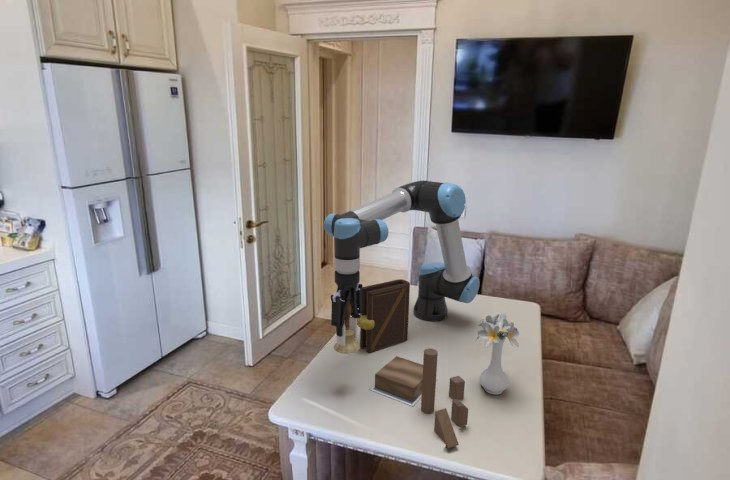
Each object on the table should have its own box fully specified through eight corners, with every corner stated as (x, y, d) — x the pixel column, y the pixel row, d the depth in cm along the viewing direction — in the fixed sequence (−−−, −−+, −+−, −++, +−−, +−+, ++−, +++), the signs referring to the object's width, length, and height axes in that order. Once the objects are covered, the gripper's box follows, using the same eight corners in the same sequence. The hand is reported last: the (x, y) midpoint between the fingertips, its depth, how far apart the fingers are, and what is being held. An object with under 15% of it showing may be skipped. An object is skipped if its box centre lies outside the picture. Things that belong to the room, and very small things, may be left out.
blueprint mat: (396, 367, 159) (396, 365, 159) (437, 381, 150) (437, 379, 150) (368, 391, 144) (368, 389, 144) (412, 408, 136) (413, 406, 136)
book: (397, 335, 183) (399, 277, 176) (411, 344, 176) (413, 284, 169) (352, 349, 171) (352, 288, 165) (364, 359, 164) (365, 295, 158)
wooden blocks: (447, 448, 119) (452, 382, 114) (411, 407, 137) (413, 347, 132) (498, 432, 126) (505, 368, 121) (457, 394, 143) (461, 337, 138)
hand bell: (330, 344, 142) (329, 297, 138) (354, 339, 146) (354, 293, 142) (339, 356, 135) (338, 307, 131) (364, 351, 138) (364, 303, 134)
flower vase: (510, 376, 154) (517, 308, 148) (515, 407, 137) (523, 333, 131) (471, 371, 157) (477, 304, 151) (471, 401, 140) (477, 328, 133)
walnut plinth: (395, 368, 156) (396, 356, 155) (432, 381, 149) (433, 368, 148) (374, 387, 145) (375, 373, 144) (413, 402, 138) (413, 388, 136)
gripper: (354, 260, 143) (354, 326, 149) (317, 276, 128) (319, 349, 134) (374, 264, 139) (373, 332, 145) (338, 281, 124) (339, 356, 130)
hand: (347, 340), depth 140 cm, fingers closed on hand bell, 6 cm apart
